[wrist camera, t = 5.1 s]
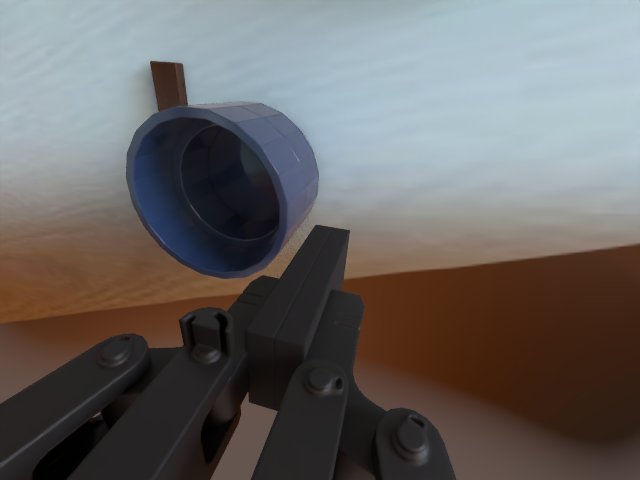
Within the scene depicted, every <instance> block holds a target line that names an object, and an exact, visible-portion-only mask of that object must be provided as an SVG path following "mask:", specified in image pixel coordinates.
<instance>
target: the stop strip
mask: <svg viewBox="0 0 640 480" xmlns="http://www.w3.org/2000/svg"><path fill="white" fill-rule="evenodd" d="M150 64H151V70H152V76H153V81H154V87H155V93H156V98H157V104H158V110H159V112H160V111H163V110H166V109H169V108H173V107H176V106H185V105H188V103H187V95H186V87H185V80H184V72H183V65H182V64H181V63H172V62H157V61H150Z"/></svg>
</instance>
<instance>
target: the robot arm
mask: <svg viewBox="0 0 640 480" xmlns="http://www.w3.org/2000/svg"><path fill="white" fill-rule="evenodd" d="M349 233H350V230H344V229H339V228H333V227H327V226H321V225H315V227H314V228H313V230H312V231H311V233H310V234H309V236H308V237H307V239H306V240H305V242H304V243H303V244H302V246H301V247H300V249H299V250H298V252H297V253H296V255H295V256H294V258H293V259H292V261H291V262H290V264H289V265H288V267H287V268H286V270H285V271H284V273H283V274H282V276H281V277H280V279H278V278H273V277H269V276H264V275H262V276H261V277H259V278H257V279H255V280H254V281H252V282H251V283H250V284H249V285H248V286H247V287H246V289H245V290H244V291H243V294H241V295H240V296H239V297H238V299H237V301H235V302H234V303H233V305H232V306H231V307H230V308H229V310H228V311H224V310H223V309H220V308H212V307H207V308H201V309H197V310H194V311H192V312H189V313H188V314H186V315H185V316H183V317H182V318H181V319H179V322H180V328H181V333H182V338H183V343H184V345H183V346H182V347H176V348H149V347H148V344H147V341H146V340H145V339H144V338H143V337H142V336H139V335H136V334H121V335H117V336H114V337H110V338H108V339H106V340H104V341H102V342H100V343H98V344H97V345H95V346H94V347H92V348H90V349H89V350H87V351H85V352H84V353H82V354H81V355H79V356H77V357H76V358H74V359H73V360H71V361H69V362H68V363H66V364H65V365H63V366H61V367H59V368H58V369H56V370H55V371H53V372H51V373H50V374H48V375H47V376H45V377H43V378H42V379H40V380H38V381H37V382H35V383H34V384H32V385H30V386H29V387H27V388H25V389H24V390H23V391H21V392H19V393H17V394H16V395H14V396H12V397H11V398H9V399H8V400H6V401H4V402H3V403H1V404H0V480H210V479H211V477H212V475H213V473H214V471H215V469H216V467H217V465H218V463H219V461H220V459H221V457H222V455H223V453H224V451H225V449H226V447H227V445H228V443H229V441H230V439H231V437H232V435H233V433H234V431H235V429H236V427H237V425H238V423H239V419H240V416H241V407H240V406H241V404H242V402H243V400H244V398H245V396H246V394H247V392H249V402H250V403H253V404H256V405H260V406H263V407H266V408H269V409H273V410H276V411H278V413H277V415H276V417H275V420H274V423H273V425H272V427H271V430H270V433H269V435H268V437H267V440H266V442H265V445H264V447H263V450H262V453H261V455H260V457H259V460H258V462H257V465H256V467H255V470H254V473H253V475H252V478H251V480H456V477H455V474H454V471H453V468H452V465H451V463H450V460H449V456H448V453H447V451H446V447H445V444H444V442H443V440H442V438H441V436H440V434H439V432H438V430H437V429H436V428H435V427H434V426H433V424H432V423H431V422H430V421H429V420H428V419H427V418H426V417H424V416H422V415H421V414H419V413H417V412H416V411H414V410H410V409H405V408H396V409H390V410H389V411H385V410H384V409H382V408H381V407H379V406H377V405H376V404H374V403H372V402H371V401H370V400H369V399H367V398H366V397H365V396H364V395H363V394H362V393H361V391H360V390H359V389H358V387H357V385H356V383H355V381H354V376H353V366H354V360H355V355H356V350H357V344H358V339H359V333H360V327H361V322H362V317H363V311H364V304H363V301H362V299H361V296H360V295H357V294H353V293H348V292H343V291H341V287H342V284H343V279H344V271H345V264H346V256H347V248H348V241H349ZM98 412H100V413H101V414H100V415H98V416H96V417H94V418H92V417H93V416H94V415H95V414H97V413H98Z"/></svg>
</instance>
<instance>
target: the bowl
mask: <svg viewBox="0 0 640 480" xmlns="http://www.w3.org/2000/svg"><path fill="white" fill-rule="evenodd" d="M318 177H319V173H318V169H317V164H316V160H315V156H314V152H313V150H312V148H311V147H310V145H309V143H308V141H307V140H306V138H305V136H304V135H303V133H302V131H300V129H299V128H298V127H297V126H296V125H295V124H294V123H293V122H292V121H290V120H289V119H288V118H287V117H286V116H285V115H284V114H283V113H281V112H279V111H277V110H275V109H273V108H271V107H268V106H266V105H264V104H261V103H251V102H228V103H213V104H199V105H185V106H176V107H173V108H169V109H166V110H163V111H160V112H157V113H154V114H153V115H152V116H151V117H150V118H149V119H147V120H146V121H145V122H144V123H143V124H142V125H141V126H140V127H139V128H138V129H137V130H136V132H135V134H134V137H133V139H132V142H131V144H130V147H129V149H128V152H127V166H126V178H127V179H126V180H127V184H128V188H129V192H130V196H131V200H132V203H133V206H134V208H135V210H136V212H137V214H138V216H139V218H140V219H141V221H142V223H143V225H144V227H145V228H146V230H147V231H148V232H149V233H150V235H151V236H152V237H153V238H154V239H155V241H156V242H157V243H158V244H159V246H160V247H162V249H164V250H165V251H166V252H167V253H168V254H170V255H171V256H172V257H173V258H175V259H176V260H177V261H178V262H180V263H181V264H183V265H185V266H187V267H189V268H191V269H193V270H195V271H197V272H199V273H201V274H204V275H209V276H213V277H218V278H222V279H230V278H243V277H247V276H250V275H252V274H254V273H256V272H258V271H261V270H263V269H264V268H266V267H267V266H268V265H269V264H270V263H271V261H272V260H273V259H274V258H275V257H276V256H277V255H278V254H279V253H280V251H281V250H282V249H283V248H284V246H285V245H286V244H287V242H288V241H289V240H290V238H291V237H292V236H293V234H294V233H295V232H296V230H297V229H298V228H299V226H300V225H301V224H302V223H303V221H304V220H305V219H306V217H307V216H308V215H309V213H310V211H311V209H312V207H313V204H314V202H315V199H316V197H317V192H318Z"/></svg>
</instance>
